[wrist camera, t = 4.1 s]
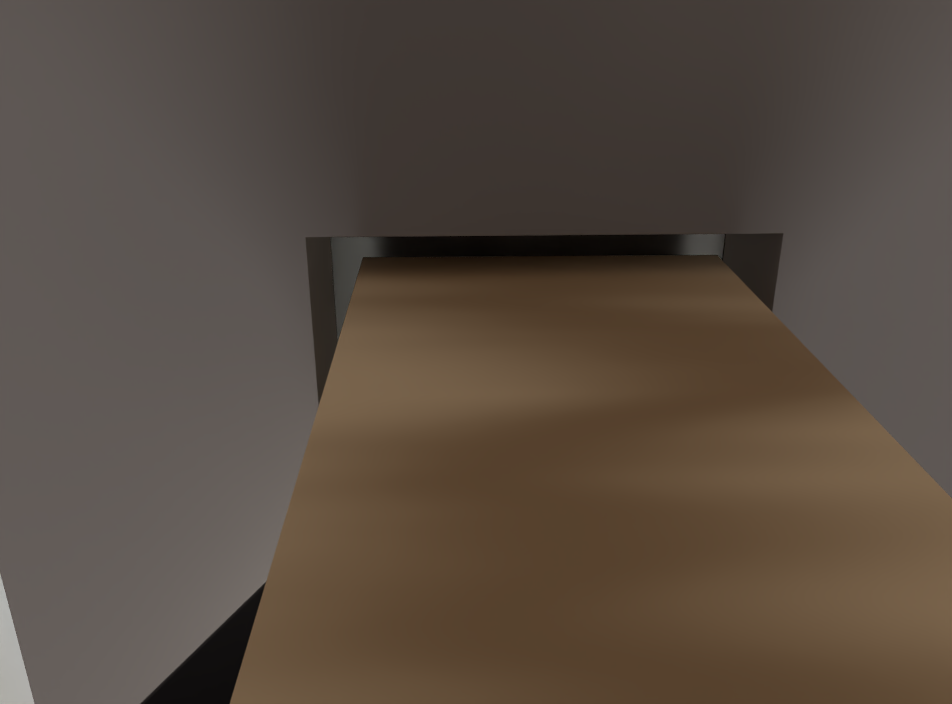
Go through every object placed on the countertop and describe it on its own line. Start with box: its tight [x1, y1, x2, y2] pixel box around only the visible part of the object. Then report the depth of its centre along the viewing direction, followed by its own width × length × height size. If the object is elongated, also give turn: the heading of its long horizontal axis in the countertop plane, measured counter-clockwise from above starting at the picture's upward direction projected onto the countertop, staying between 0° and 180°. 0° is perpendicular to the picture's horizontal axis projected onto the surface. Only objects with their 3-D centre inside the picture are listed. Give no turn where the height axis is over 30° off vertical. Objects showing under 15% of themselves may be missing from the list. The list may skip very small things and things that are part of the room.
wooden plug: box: [230, 255, 952, 704], centre depth 8 cm, size 4×4×9 cm
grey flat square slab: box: [0, 0, 952, 704], centre depth 12 cm, size 14×14×2 cm
